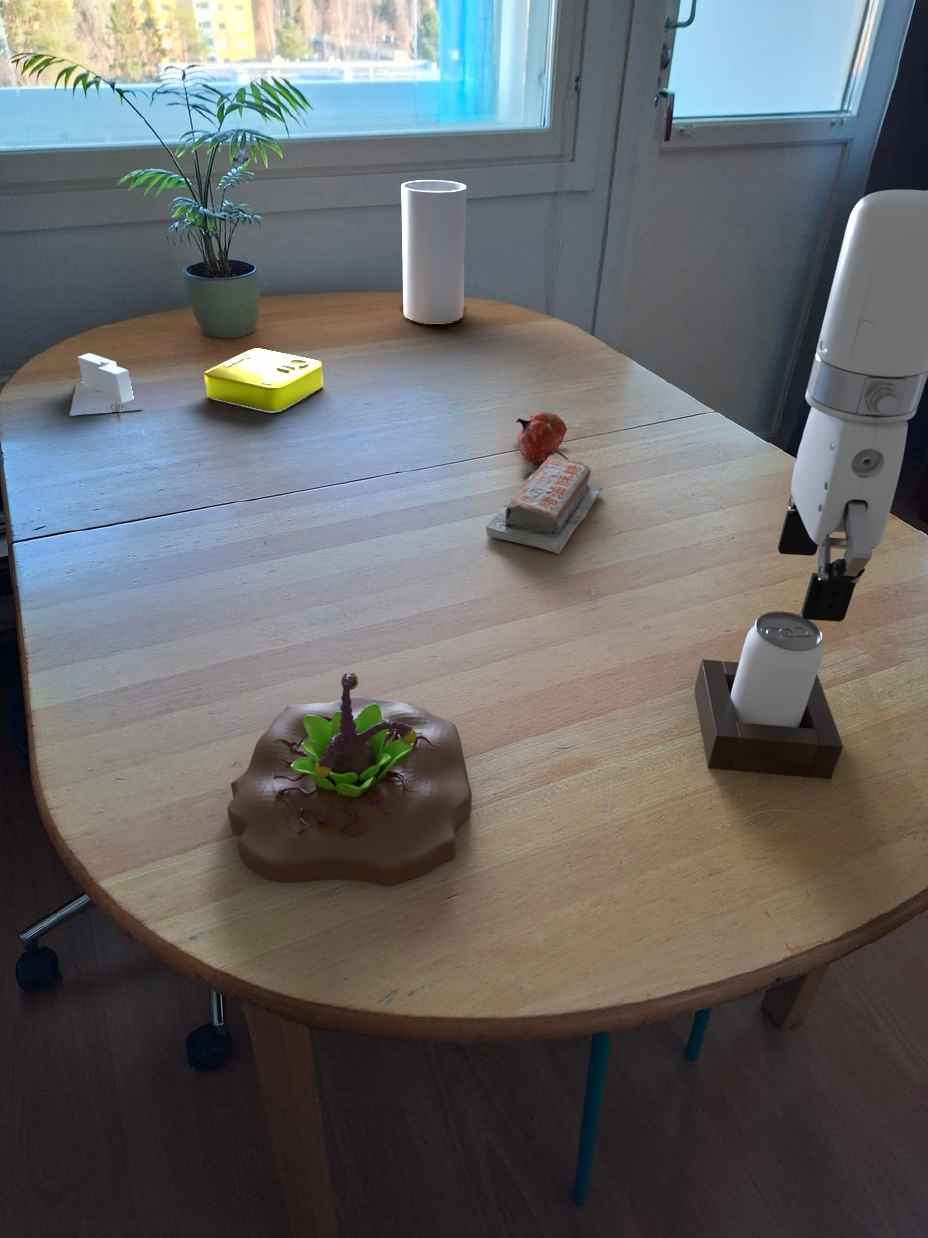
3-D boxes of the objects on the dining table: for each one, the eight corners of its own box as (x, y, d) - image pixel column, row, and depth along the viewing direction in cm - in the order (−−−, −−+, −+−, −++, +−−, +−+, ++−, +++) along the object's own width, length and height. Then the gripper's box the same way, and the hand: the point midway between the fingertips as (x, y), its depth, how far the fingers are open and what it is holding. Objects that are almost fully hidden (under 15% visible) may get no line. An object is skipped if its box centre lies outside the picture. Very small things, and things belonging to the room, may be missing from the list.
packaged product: (536, 448, 120) (605, 462, 117) (533, 480, 123) (601, 494, 120) (485, 504, 107) (563, 521, 104) (484, 538, 110) (559, 556, 107)
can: (711, 713, 84) (737, 611, 77) (773, 706, 85) (805, 605, 78) (740, 760, 79) (771, 656, 72) (806, 752, 80) (843, 649, 73)
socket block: (805, 699, 86) (815, 668, 84) (831, 779, 77) (843, 746, 75) (693, 690, 87) (701, 658, 84) (707, 768, 78) (716, 735, 76)
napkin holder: (73, 383, 148) (65, 349, 145) (143, 377, 151) (137, 344, 148) (68, 417, 137) (59, 381, 134) (144, 410, 140) (137, 375, 136)
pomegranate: (555, 461, 133) (505, 420, 130) (588, 431, 129) (537, 388, 126) (549, 488, 128) (497, 446, 125) (583, 457, 123) (530, 412, 120)
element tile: (257, 370, 155) (254, 343, 153) (328, 386, 150) (326, 358, 147) (201, 398, 144) (197, 370, 142) (276, 416, 139) (273, 387, 136)
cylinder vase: (433, 330, 176) (434, 194, 162) (391, 316, 183) (388, 184, 169) (475, 317, 184) (479, 186, 169) (433, 304, 191) (433, 177, 176)
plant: (474, 719, 82) (479, 623, 76) (467, 892, 67) (472, 790, 60) (264, 709, 83) (250, 613, 76) (207, 880, 67) (183, 776, 60)
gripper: (963, 436, 55) (884, 651, 65) (884, 346, 69) (829, 534, 79) (840, 431, 56) (781, 644, 66) (787, 342, 69) (745, 529, 80)
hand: (808, 584), depth 72 cm, fingers open, 9 cm apart
